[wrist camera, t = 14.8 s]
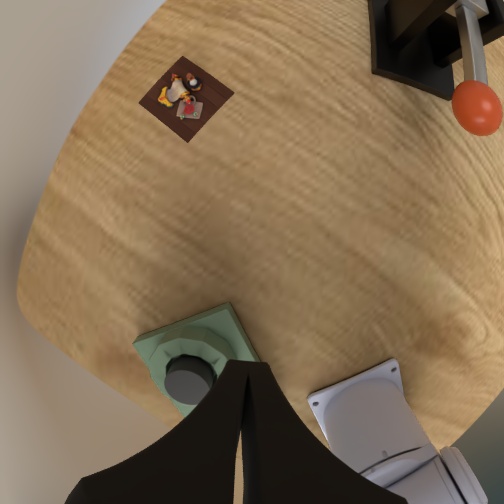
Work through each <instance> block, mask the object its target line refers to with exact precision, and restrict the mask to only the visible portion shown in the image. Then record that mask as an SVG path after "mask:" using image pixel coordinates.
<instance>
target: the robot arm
mask: <svg viewBox="0 0 504 504" xmlns="http://www.w3.org/2000/svg"><path fill="white" fill-rule="evenodd" d="M394 367H395V368H394ZM392 368H394V369H393V370H392ZM307 399H308V403H309V405H310V407H311V409H312V411H313V413H314V415H315V417H316V419H317V421H318V423H319V425H320V427H321V429H322V431H323V433H324V435H325V437H326V439H327V441H328V443H329V447H330V450H328V449H327V448H326V447H325V446H324V445H323V444H322V443H321V442H320V441H319V440H318V439H317V438H316V437H315V436H314V434H313V433H312V432H311V431H310V430H309V429H308V428H307V426H306V425H305V424H304V423H303V421H302V420H301V419H300V418H299V416H298V415H297V414H296V412H295V411H294V409H293V408H292V406H291V405H290V403H289V402H288V400H287V399H286V397H285V395H284V394H283V392H282V391H281V389H280V387H279V385H278V383H277V381H276V379H275V377H274V375H273V373H272V371H271V369H270V366H269V365H268V363H267V362H255V361H244V360H234V359H229V360H228V361H226V364H225V367H224V369H223V370H222V372H221V374H220V376H219V377H218V379H217V380H216V382H215V383H214V385H213V386H212V387H211V389H210V390H209V391H208V393H207V394H206V395H205V397H204V398H203V399H202V400H201V401H200V402H199V403H198V405H197V406H196V407H195V408H194V409H193V410H192V411H191V412H190V413H189V414H188V415H187V416H186V417H185V418H184V419H183V420H182V421H181V422H180V423H179V424H178V425H177V426H175V427H174V428H173V429H172V430H171V431H170V432H168V433H167V434H165V435H164V436H163V437H162V438H160V439H159V440H158V441H156V442H155V443H153V444H152V445H150V446H149V447H147V448H146V449H144V450H142V451H141V452H139V453H137V454H135V455H134V456H132V457H130V458H129V459H127V460H125V461H123V462H121V463H119V464H117V465H114V466H112V467H110V468H107V469H105V470H102V471H100V472H97V473H94V474H92V475H89V476H86V477H83V478H81V480H80V481H79V482H78V484H77V485H76V486H75V488H74V489H73V490H72V492H71V493H70V494H69V496H68V498H67V500H66V502H65V504H233V498H234V479H235V460H236V452H237V447H238V441H239V436H240V431H241V439H242V460H243V478H244V490H243V491H244V492H243V504H487V502H488V500H487V497H486V495H485V493H484V491H483V489H482V488H481V486H480V484H479V482H478V480H477V478H476V477H475V475H474V473H473V472H472V470H471V468H470V467H469V465H468V464H467V462H466V461H465V459H464V457H463V456H462V454H461V453H460V451H459V450H458V449H457V448H456V447H450V448H449V447H448V446H445V447H444V448H443V449H441V450H440V453H441V455H442V457H443V458H442V457H441V456H440V454H439V453H438V451H437V450H436V449H435V447H434V446H433V444H432V443H431V441H430V440H429V438H428V436H427V435H426V433H425V431H424V429H423V428H422V426H421V424H420V423H419V421H418V419H417V418H416V416H415V414H414V413H413V411H412V410H411V408H410V406H409V405H408V403H407V401H406V400H405V398H404V393H403V387H402V381H401V375H400V370H399V365H398V361H397V360H396V359H390V360H388V361H386V362H384V363H382V364H380V365H378V366H376V367H374V368H372V369H369V370H367V371H365V372H363V373H361V374H359V375H356V376H354V377H352V378H349V379H347V380H345V381H342V382H340V383H338V384H335V385H333V386H330V387H328V388H325V389H323V390H320V391H317V392H315V393H312V394H310V395H309V396H308V398H307ZM314 402H317V403H314ZM443 459H444V460H443ZM444 461H445V462H444Z"/></svg>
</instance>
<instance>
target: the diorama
mask: <svg viewBox="0 0 504 504" xmlns="http://www.w3.org/2000/svg"><path fill="white" fill-rule="evenodd" d="M233 94H234V92H233V91H232V90H230V89H229V88H228V87H226V86H225V85H223V84H222V83H221V82H219V81H218V80H217V79H215V78H214V77H212V76H211V75H210V74H208V73H207V72H205V71H204V70H203V69H201V68H200V67H198V66H197V65H195V64H194V63H192V62H191V61H189V60H188V59H186V58H185V57H183V56H182V57H181V58H180V59H179V60H178V61H177V62H176V63H175V64H174V65H173V66H172V67H171V68H170V69H169V70H168V71H167V72H166V73H165V74H164V75H163V76H162V77H161V78H160V79H159V80H158V81H157V82H156V83H155V85H154V86H153V87H152V88H151V89H150V90H149V91H148V92H147V94H146V95H145V96H144V97H143V98H142V99H141V100H140V102H139V104H140V105H142V106H143V107H144V108H145V109H147V110H148V111H149V112H150V113H152V114H153V115H154V116H155V117H156V118H158V119H159V120H160V121H161V122H163V123H164V124H165V125H166V126H168V127H169V128H170V129H171V130H172V131H174V132H175V133H176V134H177V135H179V136H180V137H181V138H182V139H183V140H185V141H186V142H187V143H188V142H189V141H190V140H191V139H192V138H193V137H194V135H195V134H196V133H197V132H198V131H199V130H200V129H201V128H202V127H203V125H204V124H205V123H206V122H207V121H208V120H209V119H210V118H211V117H212V116H213V115H214V114H215V113H216V112H217V111H218V109H219V108H220V107H221V106H222V105H223V104H224V103H225V102H226V101H227V100H228V99H229V98H230V97H231V96H232V95H233Z"/></svg>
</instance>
